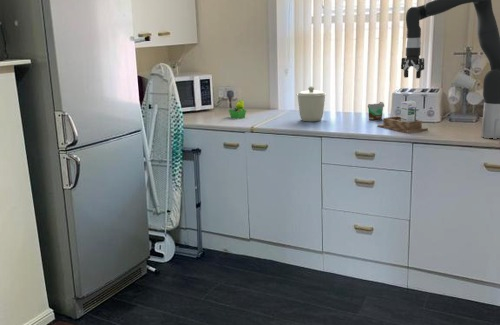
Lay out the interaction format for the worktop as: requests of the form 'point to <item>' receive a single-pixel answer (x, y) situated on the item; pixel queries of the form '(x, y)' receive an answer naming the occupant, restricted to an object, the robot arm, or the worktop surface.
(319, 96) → the canister
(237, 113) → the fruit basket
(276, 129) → the worktop surface
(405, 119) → the syrup box
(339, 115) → the worktop surface
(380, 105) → the food container
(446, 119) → the worktop surface
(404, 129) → the walnut socket rail
